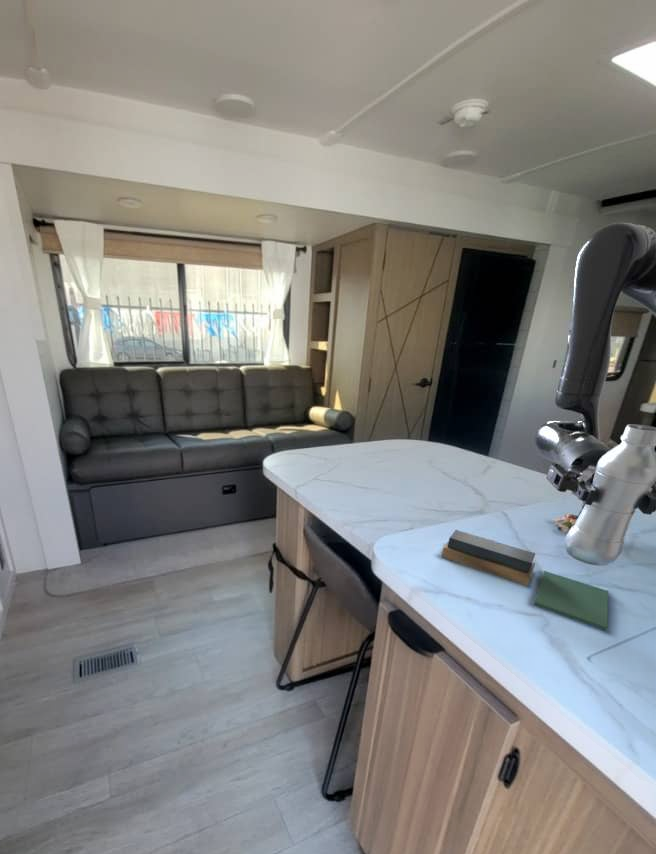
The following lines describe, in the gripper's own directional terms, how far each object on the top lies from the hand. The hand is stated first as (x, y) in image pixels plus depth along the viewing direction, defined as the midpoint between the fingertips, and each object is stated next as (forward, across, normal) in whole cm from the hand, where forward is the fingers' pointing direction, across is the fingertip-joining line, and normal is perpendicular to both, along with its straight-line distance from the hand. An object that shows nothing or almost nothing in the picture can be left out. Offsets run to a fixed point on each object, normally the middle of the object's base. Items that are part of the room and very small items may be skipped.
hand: (620, 502), depth 54 cm
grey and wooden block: (-7, -12, +18) cm, 23 cm away
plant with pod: (-31, +8, +18) cm, 36 cm away
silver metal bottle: (-2, 0, +11) cm, 11 cm away
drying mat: (-2, 0, +18) cm, 18 cm away
